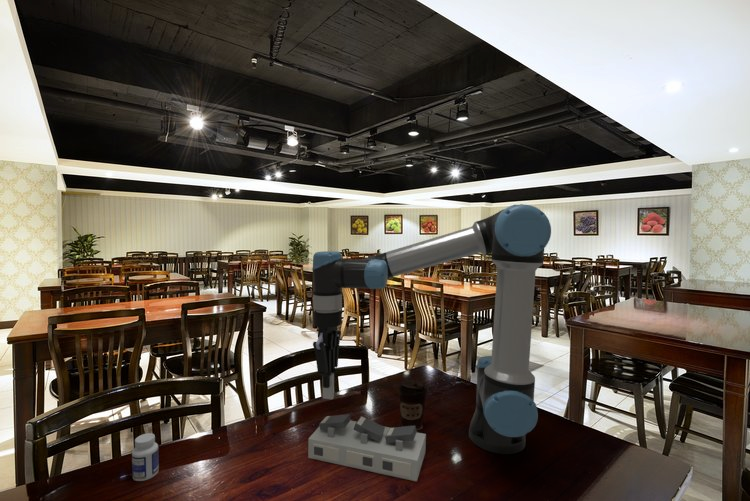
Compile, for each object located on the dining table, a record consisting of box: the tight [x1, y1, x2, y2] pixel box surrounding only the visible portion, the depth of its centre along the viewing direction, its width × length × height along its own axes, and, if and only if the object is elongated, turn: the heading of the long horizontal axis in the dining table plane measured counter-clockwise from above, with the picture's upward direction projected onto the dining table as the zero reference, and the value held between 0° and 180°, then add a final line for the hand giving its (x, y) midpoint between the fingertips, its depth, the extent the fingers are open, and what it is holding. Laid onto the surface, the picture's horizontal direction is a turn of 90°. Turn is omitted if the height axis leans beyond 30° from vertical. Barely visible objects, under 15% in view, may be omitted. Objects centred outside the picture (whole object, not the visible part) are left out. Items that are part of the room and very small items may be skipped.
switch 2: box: [353, 415, 386, 442], centre depth 95 cm, size 7×5×3 cm
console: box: [307, 420, 427, 482], centre depth 95 cm, size 28×12×7 cm, turn 73°
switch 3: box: [385, 425, 418, 443], centre depth 93 cm, size 7×5×3 cm
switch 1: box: [318, 413, 352, 430], centre depth 98 cm, size 7×5×3 cm
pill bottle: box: [131, 432, 160, 482], centre depth 87 cm, size 5×5×9 cm
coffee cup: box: [398, 379, 428, 431], centre depth 110 cm, size 9×8×13 cm
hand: (328, 397), depth 99 cm, fingers closed
